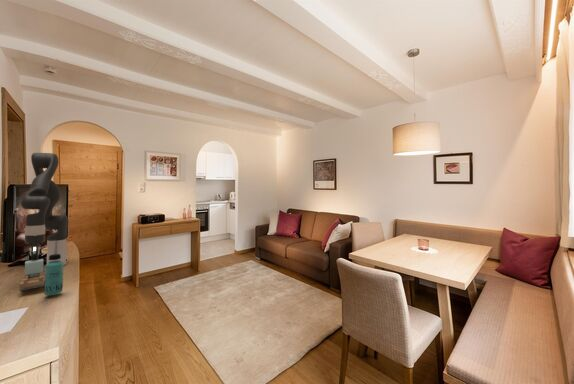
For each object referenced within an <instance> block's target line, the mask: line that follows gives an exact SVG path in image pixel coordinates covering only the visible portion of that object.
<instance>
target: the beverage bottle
mask: <svg viewBox="0 0 574 384" xmlns="http://www.w3.org/2000/svg"><path fill="white" fill-rule="evenodd" d="M60 258H61V256H60V254H53V255H50V256H49V260H57V259H60ZM44 265H45V268H46V270H45V280H44V281H45V285H44V286H43V287H44V288H43V289H44V290H43V291H44V292H43V294H44V295H45V296H55V295H57V294H60V293H62V292H63V288H64V279H63V278H64V277H63V276H64V265H63V262H62V261H51V262H49V263H47V262H46V264H44Z"/></svg>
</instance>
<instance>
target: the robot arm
mask: <svg viewBox="0 0 574 384" xmlns="http://www.w3.org/2000/svg"><path fill="white" fill-rule="evenodd" d="M30 157H31V164H32V168H33V171H34V174H35V177H34V178H33V180H32V182H31V184H30V189H29V190H28V191H27V193H26V194H25V195H24V196H23V198H22V199H21V201H20V206H21V208H22V209H24V210H39V211H38V212H35V213H29V214H27V215H26V216H25V229H24V244H27V245H30V244H31V245H30V246H29V248H28V249H29V256H30V260H38V259H39V255H40V250H41V245H40V243H45V241H46V239H47V241H46V242H47V243H46V264H47V263H49V262H51V261H62V262H63V266H65V265H67V236H68V227H69V226H68V225H69V218H68V216H67V215H65V214H63V215H61V214H58V215H57V214H56V215H55V214H53V209H54V208H55V206H56V205H57V203H58V202H59V201H60V199H61V192H60V187H59V185H58V184H57V183H56V182H54V181H53V180H52V178H53V177H54V175H55V173H56V171H57V169H58V167H59V156H58V155H57V154H56V153H53V152H33V153H32V154H31V156H30ZM44 169H45V170H44ZM46 230H58V231H57V232H56V233H55V232H54V233H52V234H49V235H48V236H47V237H46ZM53 254H60V256H61V258H60V259H57V260H49V256H50V255H53Z"/></svg>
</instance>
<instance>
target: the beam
mask: <svg viewBox="0 0 574 384" xmlns="http://www.w3.org/2000/svg"><path fill="white" fill-rule="evenodd" d="M45 270H46V267H43V273H39V276H34V277H30V275H25V270H23V271H22V274H21V279H20V280H19V281H20V282H19V291H20V292H23V291H25V290H32V289H36V288H37V289H38V288H42V287H45V286H44V285H45V281H44V280H45Z"/></svg>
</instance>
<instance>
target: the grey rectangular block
mask: <svg viewBox="0 0 574 384" xmlns="http://www.w3.org/2000/svg"><path fill="white" fill-rule="evenodd" d="M43 268H44V258H40V259H39V258H38V260H31V259H30V260H26V261H25V262H24V271H25V275H30V277H34V276H39V273H43Z"/></svg>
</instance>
